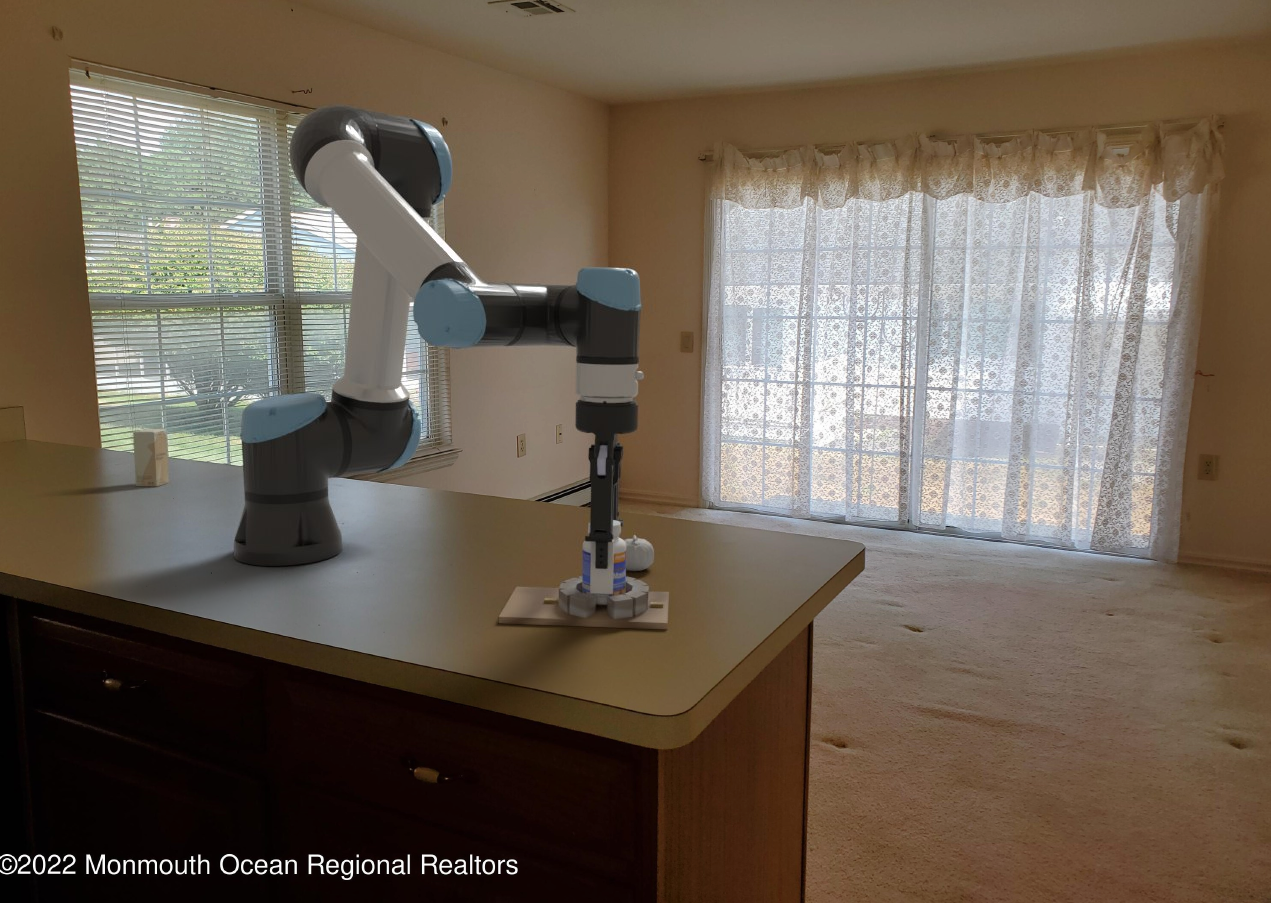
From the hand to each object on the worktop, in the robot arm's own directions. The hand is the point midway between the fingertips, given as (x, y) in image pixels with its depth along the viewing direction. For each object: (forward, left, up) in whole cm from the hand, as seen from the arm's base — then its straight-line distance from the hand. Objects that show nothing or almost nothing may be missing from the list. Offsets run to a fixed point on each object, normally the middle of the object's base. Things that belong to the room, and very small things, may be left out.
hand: (603, 584), depth 114 cm
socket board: (-2, 0, -3) cm, 4 cm away
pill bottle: (0, 0, -2) cm, 2 cm away
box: (-97, +68, -4) cm, 119 cm away
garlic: (+3, +19, -4) cm, 20 cm away
